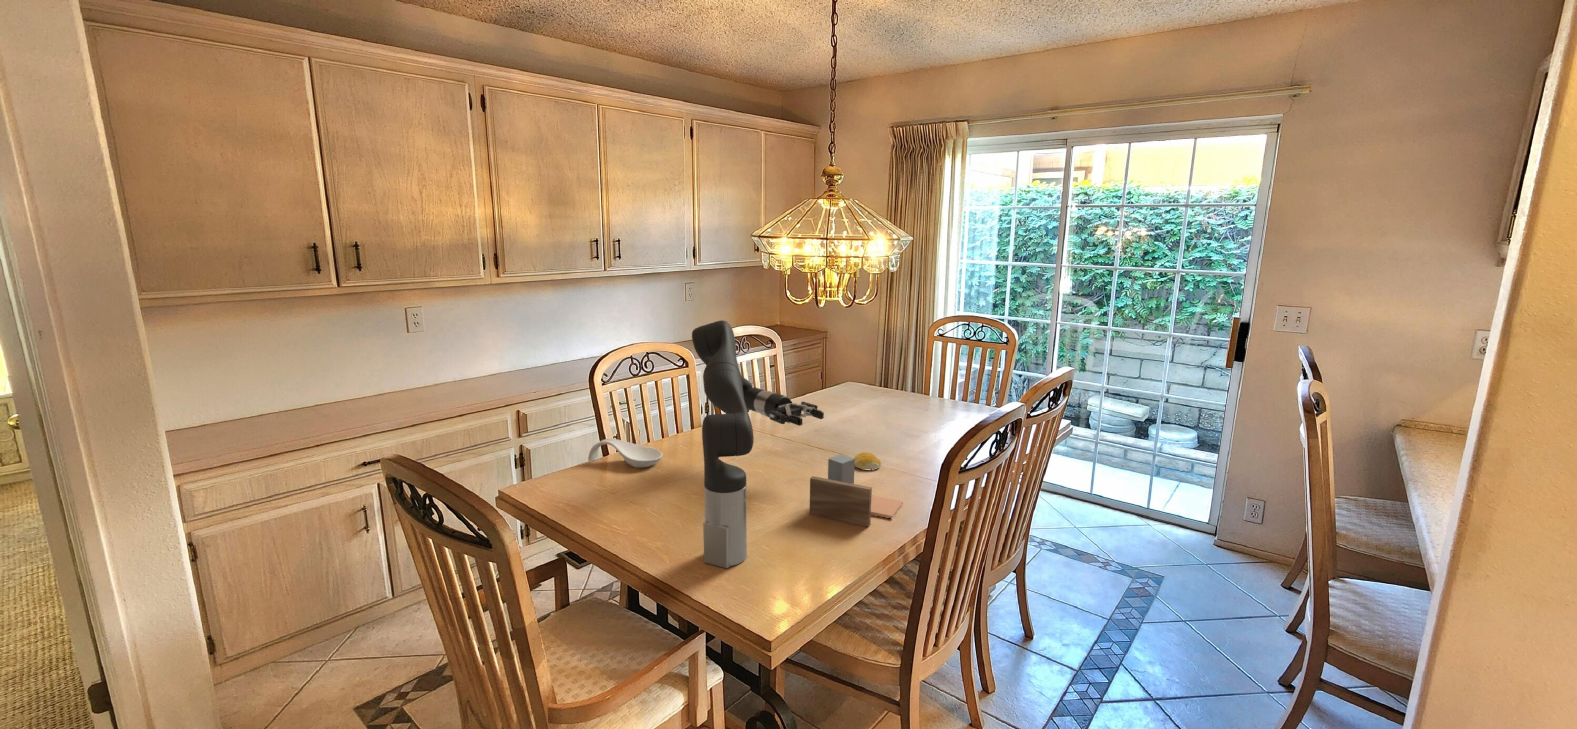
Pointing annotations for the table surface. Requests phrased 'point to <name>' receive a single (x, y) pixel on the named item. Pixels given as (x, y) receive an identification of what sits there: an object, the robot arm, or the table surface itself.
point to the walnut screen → (840, 501)
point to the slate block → (841, 468)
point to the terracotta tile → (884, 506)
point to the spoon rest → (630, 453)
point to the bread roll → (867, 461)
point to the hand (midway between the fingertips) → (812, 418)
